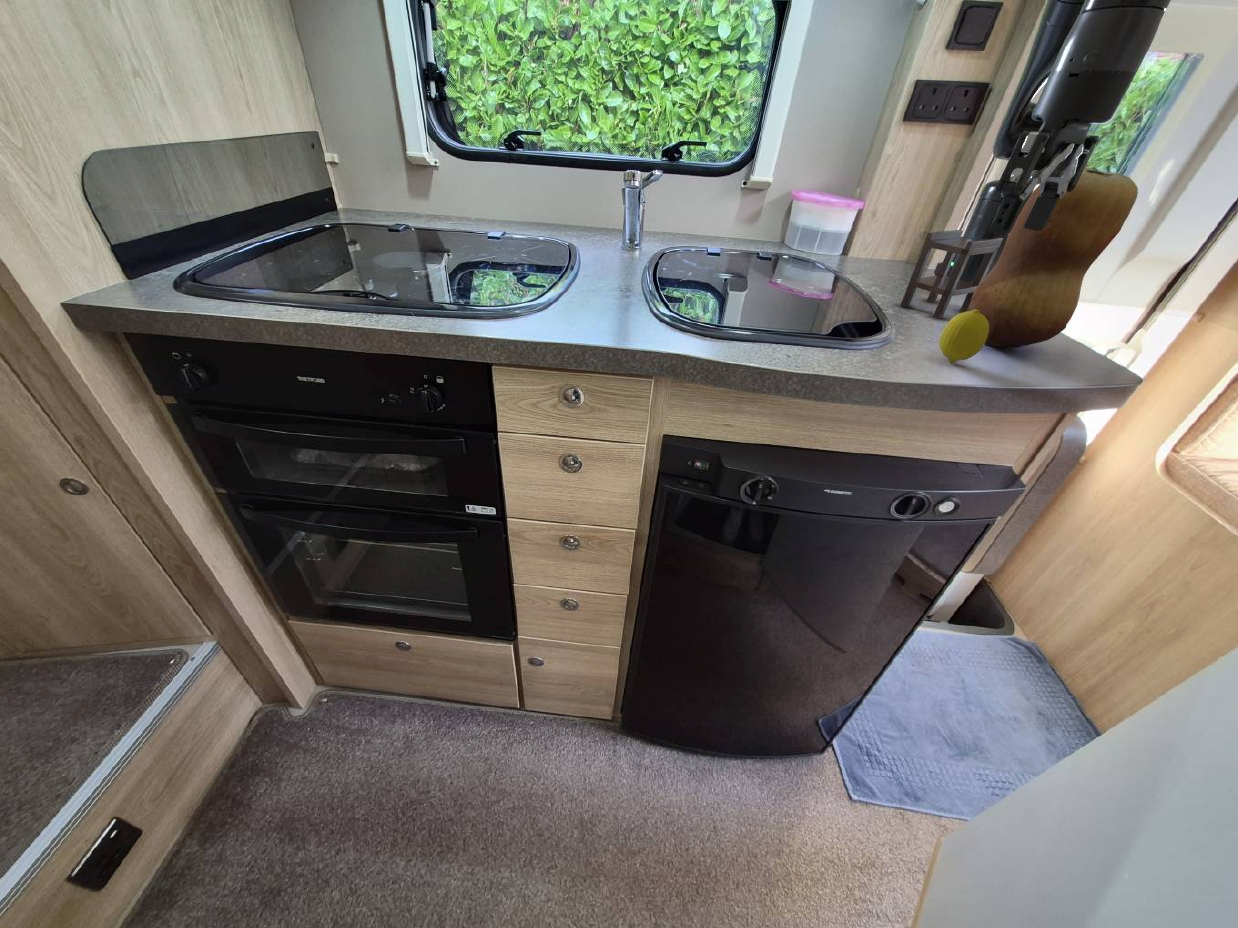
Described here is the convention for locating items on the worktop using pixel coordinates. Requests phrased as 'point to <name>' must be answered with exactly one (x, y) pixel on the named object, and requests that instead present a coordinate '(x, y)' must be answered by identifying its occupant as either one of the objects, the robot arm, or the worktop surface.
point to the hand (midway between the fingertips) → (1015, 231)
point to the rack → (951, 284)
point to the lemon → (964, 336)
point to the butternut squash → (1052, 260)
